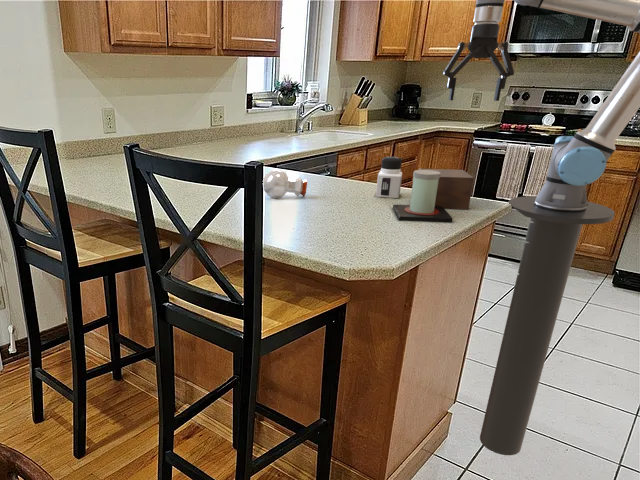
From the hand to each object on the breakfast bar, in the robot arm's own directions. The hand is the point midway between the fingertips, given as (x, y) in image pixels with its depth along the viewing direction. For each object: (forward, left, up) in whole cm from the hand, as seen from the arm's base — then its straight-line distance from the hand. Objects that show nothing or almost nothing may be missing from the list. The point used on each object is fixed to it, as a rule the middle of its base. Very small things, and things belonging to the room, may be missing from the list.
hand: (473, 100), depth 164 cm
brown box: (+6, +5, -32) cm, 33 cm away
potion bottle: (+58, +3, -32) cm, 66 cm away
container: (+22, -5, -32) cm, 39 cm away
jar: (+15, +21, -30) cm, 40 cm away
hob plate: (+15, +21, -32) cm, 41 cm away
